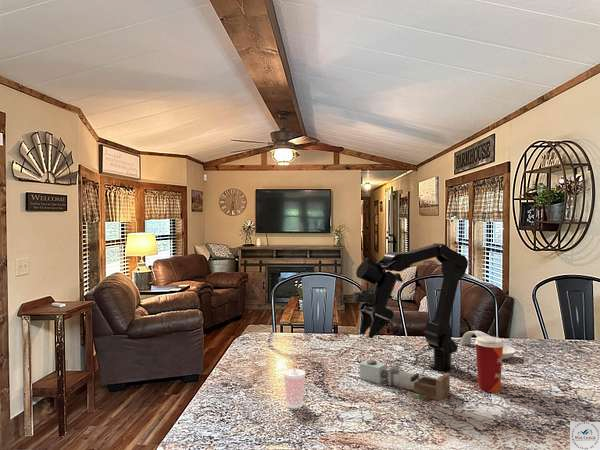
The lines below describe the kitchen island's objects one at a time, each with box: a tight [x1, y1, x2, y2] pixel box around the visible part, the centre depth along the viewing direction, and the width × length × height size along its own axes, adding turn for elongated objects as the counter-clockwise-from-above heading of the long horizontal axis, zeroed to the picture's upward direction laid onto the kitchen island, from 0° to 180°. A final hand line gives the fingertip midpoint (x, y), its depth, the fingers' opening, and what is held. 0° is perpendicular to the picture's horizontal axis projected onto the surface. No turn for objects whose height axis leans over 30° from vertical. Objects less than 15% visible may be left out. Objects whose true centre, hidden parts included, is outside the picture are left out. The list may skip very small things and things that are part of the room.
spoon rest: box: [460, 330, 517, 360], centre depth 171 cm, size 24×12×7 cm, turn 21°
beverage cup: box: [283, 353, 306, 409], centre depth 123 cm, size 6×6×14 cm
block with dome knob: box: [359, 359, 388, 384], centre depth 143 cm, size 5×8×6 cm, turn 52°
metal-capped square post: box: [387, 364, 425, 391], centre depth 136 cm, size 7×10×5 cm
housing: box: [407, 372, 451, 402], centre depth 131 cm, size 10×9×6 cm
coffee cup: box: [474, 335, 505, 393], centre depth 135 cm, size 8×8×15 cm
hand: (365, 335), depth 142 cm, fingers open, 9 cm apart
